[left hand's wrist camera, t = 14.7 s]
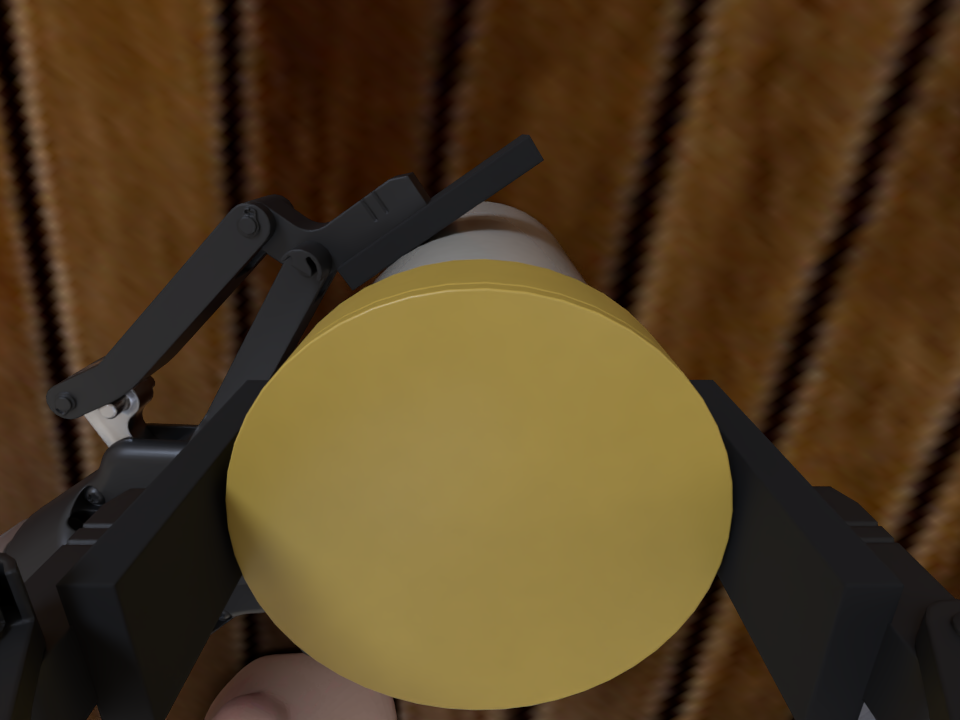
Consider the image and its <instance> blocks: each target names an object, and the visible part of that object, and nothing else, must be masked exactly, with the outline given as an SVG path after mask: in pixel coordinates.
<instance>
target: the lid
mask: <svg viewBox="0 0 960 720" xmlns="http://www.w3.org/2000/svg"><path fill="white" fill-rule="evenodd" d="M225 500H226V512H227V524H228V531H229V535H230V539H231V543H232V547H233V551H234V555H235V557H236V560H237V562H238V565H239V567H240V569H241V572H242V574H243V577H244V579H245V581H246V583H247V584H248V586H249V588H250V590H251V591H252V593H253V595H254V596H255V598H256V600H257V602H258V603H259V604H260V606H261V607H262V608H263V610H264V611H265V612H266V613H267V615H268V616H269V617H270V619H271V620H272V621H273V622H274V624H275V625H276V626H277V627H278V628H279V629H280V630H281V631H282V632H283V633H284V634H285V635H286V636H287V637H288V638H289V639H290V640H291V641H292V642H293V643H294V644H296V645H297V646H298V647H299V648H301V649H302V650H303V651H304V652H306V653H307V654H308V655H310V656H311V657H312V658H313V659H315V660H316V661H318V662H319V663H321V664H322V665H324V666H326V667H327V668H329V669H330V670H332V671H334V672H335V673H337V674H338V675H340V676H342V677H344V678H346V679H349V680H351V681H353V682H355V683H357V684H359V685H361V686H363V687H365V688H368V689H371V690H374V691H376V692H379V693H382V694H385V695H387V696H390V697H394V698H398V699H401V700H405V701H409V702H413V703H417V704H423V705H429V706H435V707H442V708H451V709H467V710H491V709H508V708H516V707H524V706H531V705H536V704H541V703H545V702H550V701H554V700H559V699H562V698H565V697H568V696H571V695H574V694H577V693H580V692H583V691H586V690H588V689H591V688H593V687H595V686H597V685H600V684H602V683H604V682H607V681H609V680H611V679H613V678H614V677H616V676H618V675H620V674H622V673H623V672H625V671H627V670H629V669H630V668H632V667H634V666H635V665H637V664H638V663H640V662H641V661H642V660H644V659H645V658H647V657H648V656H649V655H651V654H652V653H653V652H655V651H656V650H657V649H659V648H660V647H661V646H662V645H663V644H664V643H665V642H666V641H667V640H668V639H669V638H671V637H672V636H673V635H674V634H675V633H676V632H677V631H678V630H679V629H680V628H681V626H682V625H683V624H684V623H685V622H686V621H687V619H688V618H689V617H690V616H691V615H692V614H693V612H694V611H695V610H696V608H697V607H698V605H699V604H700V602H701V601H702V599H703V598H704V596H705V594H706V593H707V591H708V590H709V588H710V586H711V584H712V582H713V580H714V578H715V576H716V574H717V571H718V569H719V567H720V565H721V562H722V559H723V556H724V552H725V549H726V546H727V543H728V539H729V534H730V527H731V520H732V513H733V488H732V477H731V471H730V465H729V460H728V454H727V451H726V448H725V445H724V443H723V440H722V437H721V434H720V431H719V428H718V425H717V424H716V422H715V420H714V418H713V416H712V414H711V413H710V411H709V409H708V407H707V405H706V403H705V402H704V400H703V398H702V397H701V395H700V394H699V393H698V391H697V390H696V389H695V388H694V386H693V385H692V384H691V382H690V381H689V380H688V378H687V377H686V376H685V374H684V373H683V372H682V371H681V370H680V368H679V367H678V366H677V365H676V364H675V362H674V361H673V360H672V359H671V358H670V356H669V355H668V354H667V353H666V352H665V351H664V349H663V348H662V347H661V346H660V345H659V343H658V342H657V341H656V340H655V339H654V337H653V336H652V335H651V334H650V333H649V331H648V330H647V329H646V328H645V327H643V326H642V325H641V324H640V323H639V322H638V321H637V320H636V319H635V318H634V317H633V316H632V315H631V314H630V313H629V312H628V311H627V310H625V309H624V308H623V307H621V306H620V305H619V304H617V303H616V302H614V301H613V300H612V299H610V298H609V297H608V296H606V295H605V294H603V293H601V292H600V291H598V290H596V289H594V288H592V287H590V286H588V285H586V284H584V283H583V282H581V281H579V280H577V279H574V278H572V277H569V276H566V275H563V274H561V273H558V272H555V271H553V270H550V269H547V268H542V267H538V266H533V265H529V264H524V263H520V262H513V261H502V260H491V259H474V260H453V261H447V262H441V263H435V264H429V265H424V266H420V267H417V268H413V269H410V270H407V271H404V272H401V273H397V274H394V275H392V276H389V277H387V278H385V279H383V280H381V281H379V282H377V283H374V284H372V285H370V286H368V287H366V288H364V289H362V290H361V291H359V292H358V293H356V294H355V295H353V296H352V297H350V298H349V299H347V300H346V301H344V302H342V303H341V304H339V305H338V306H337V307H336V308H335V309H334V310H333V311H331V312H330V313H329V314H328V315H327V316H326V317H325V318H323V319H322V320H321V321H320V322H319V323H318V324H317V325H316V326H315V327H314V328H313V330H312V331H311V332H310V333H309V334H308V335H307V337H306V338H305V339H304V340H303V341H302V342H301V344H300V345H299V346H298V347H297V348H296V350H295V351H294V352H293V353H292V354H291V355H290V357H289V358H288V359H287V360H286V361H285V363H284V364H283V365H282V366H281V367H280V368H279V370H278V371H277V372H276V373H275V374H274V376H273V377H272V378H271V379H270V380H269V382H268V383H267V384H266V385H265V386H264V387H263V389H262V390H261V392H260V393H259V395H258V397H257V398H256V400H255V402H254V403H253V405H252V406H251V408H250V410H249V411H248V413H247V414H246V416H245V419H244V421H243V424H242V426H241V428H240V431H239V433H238V435H237V438H236V440H235V443H234V447H233V451H232V455H231V459H230V463H229V467H228V472H227V486H226V499H225Z"/></svg>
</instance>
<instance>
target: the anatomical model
mask: <svg viewBox="0 0 960 720" xmlns="http://www.w3.org/2000/svg"><path fill="white" fill-rule="evenodd" d="M205 720H397V714H396V709H395V704H394V700H393V697H390V696H387V695H385V694H382V693H379V692H376V691H374V690H371V689H368V688H365V687H363V686H361V685H359V684H357V683H355V682H353V681H351V680H349V679H346V678H344V677H342V676H340V675H338V674H337V673H335V672H334V671H332V670H330V669H329V668H327V667H326V666H324V665H322V664H321V663H319V662H318V661H316V660H315V659H313V658H312V657H310V656H308V655H306V654H304V653H290V654H274V655H268V656H264V657H260V658H258V659H256V660H254V661H252V662H251V663H249V664H248V665H247V666H245V667H244V668H243V669H242V670H241V671H239V672H238V673H237V674H236V675H235V676H234V677H233V678H232V679H231V680H230V682H229V683H228V684H227V685H226V686H225V687H224V688H223V689H222V691H221V692H220V693H219V694H218V696H217V697H216V698H215V700H214V701H213V703H212V704H211V706H210V708H209V710H208V712H207V714H206V716H205Z"/></svg>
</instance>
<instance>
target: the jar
mask: <svg viewBox="0 0 960 720" xmlns="http://www.w3.org/2000/svg"><path fill="white" fill-rule="evenodd" d="M474 259H491V260H502V261H513V262H520V263H524V264H529V265H533V266H538V267H542V268H547V269H550V270H553V271H555V272H558V273H561V274H563V275H566V276H569V277H572V278H574V279H577V280H579V281H581V282H583V283H584V284H586V285H587V283H586V282H585V281H584V279H583V278H582V276H581V275H580V273H579V272H578V271H577V269H576V268H575V266H574V265H573V263H572V262H571V261H570V259H569V258H568V256H567V255H566V253H565V252H564V250H563V249H562V248H561V246H560V245H559V243H558V242H557V240H556V239H555V238H554V236H553V235H552V234H551V233H550V232H549V231H548V230H547V229H546V228H545V227H544V226H543V225H542V224H541V223H539V222H538V221H537V220H536V219H534V218H533V217H531V216H529V215H528V214H526V213H525V212H522V211H520V210H518V209H516V208H513V207H510V206H507V205H503V204H499V203H492V202H482V203H480V204H479V205H477V206H476V207H474V208H473V209H471V210H470V211H469V212H467V213H466V214H464V215H463V216H461V217H460V218H458V219H457V220H455V221H454V222H452V223H451V224H449V225H448V226H447V227H445V228H444V229H442V230H441V231H439V232H438V233H436V234H435V235H433V236H432V237H430V238H429V239H427V240H426V241H425V242H423V243H422V244H420V245H419V246H417V247H416V248H414V249H413V250H411V251H410V252H408V253H407V254H405V255H404V256H402V257H401V258H399V259H398V260H397V261H395V262H394V263H392V264H391V265H389V266H388V267H386V268H385V269H383V270H382V271H381V272H380V274H379V275H378V277H377V278H376V279H375V281H374V282H373V284H374V283H377V282H379V281H381V280H383V279H385V278H387V277H389V276H392V275H394V274H397V273H401V272H404V271H407V270H410V269H413V268H417V267H420V266H424V265H429V264H435V263H441V262H447V261H453V260H474Z"/></svg>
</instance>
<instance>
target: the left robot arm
mask: <svg viewBox="0 0 960 720" xmlns="http://www.w3.org/2000/svg"><path fill="white" fill-rule="evenodd" d="M689 381H690V382H691V384H692V385H693V386H694V388H695V389H696V390H697V391H698V393H699V394H700V395H701V397H702V398H703V400H704V402H705V403H706V405H707V407H708V409H709V411H710V413H711V414H712V416H713V418H714V420H715V422H716V424H717V425H718V428H719V431H720V434H721V437H722V440H723V443H724V445H725V448H726V451H727V454H728V460H729V465H730V471H731V477H732V488H733V513H732V520H731V527H730V534H729V539H728V543H727V546H726V549H725V552H724V556H723V559H722V562H721V565H720V567H719V569H718V571H717V575H718V576H719V578H720V580H721V582H722V584H723V586H724V588H725V590H726V591H727V593H728V595H729V597H730V599H731V601H732V603H733V604H734V606H735V608H736V610H737V612H738V614H739V616H740V618H741V619H742V621H743V623H744V625H745V627H746V629H747V631H748V632H749V634H750V636H751V638H752V640H753V642H754V644H755V646H756V647H757V649H758V651H759V653H760V655H761V657H762V659H763V661H764V662H765V664H766V666H767V668H768V670H769V672H770V674H771V675H772V677H773V679H774V681H775V683H776V685H777V687H778V689H779V690H780V692H781V694H782V696H783V698H784V700H785V702H786V703H787V705H788V707H789V709H790V711H791V713H792V715H793V717H794V718H793V720H960V600H958V599H955V598H954V597H953V596H952V595H951V594H950V593H949V592H948V591H947V590H946V589H945V588H944V587H943V586H942V585H941V584H940V583H939V582H938V581H937V580H936V579H935V578H933V577H932V576H931V575H930V574H929V573H928V572H927V571H926V570H925V569H924V568H923V567H922V566H921V565H920V564H919V563H918V562H917V561H916V560H915V559H914V558H913V557H912V556H911V555H910V554H909V553H908V552H907V551H906V550H905V549H904V548H903V547H902V546H901V545H900V544H899V543H895V542H894V538H893V537H892V536H891V535H890V534H889V533H888V532H887V531H886V530H885V529H884V528H883V527H882V526H878V524H877V523H878V522H877V521H876V520H875V519H874V518H873V517H872V516H871V515H870V514H869V513H868V512H867V511H865V510H864V509H863V508H862V507H861V506H860V505H859V504H858V503H857V502H855V501H854V500H852V499H850V498H849V497H847V496H845V495H844V494H842V493H840V492H839V491H837V490H835V489H833V488H832V487H812V486H811V485H810V484H809V482H808V481H807V480H806V479H805V478H804V477H803V476H802V475H801V474H800V473H799V472H798V471H797V470H796V469H795V467H794V466H793V465H792V464H791V463H790V462H789V461H788V460H787V459H786V458H785V457H784V456H783V455H782V454H781V452H780V451H779V450H778V449H777V448H776V447H775V446H774V445H773V444H772V443H771V442H770V441H769V440H768V439H767V438H766V436H765V435H764V434H763V433H762V432H761V431H760V430H759V429H758V428H757V427H756V426H755V425H754V424H753V423H752V421H751V420H750V419H749V418H748V417H747V416H746V415H745V414H744V413H743V412H742V411H741V410H740V409H739V408H738V406H737V405H736V404H735V403H734V402H733V401H732V400H731V399H730V398H729V397H728V396H727V395H726V394H725V393H724V391H723V390H722V389H721V388H720V387H719V386H718V385H717V384H716V383H715V382H714V381H713V380H689ZM268 382H269V380H247V381H246V382H245V383H244V384H243V385H242V386H241V387H240V388H239V389H238V390H237V391H236V393H235V394H234V395H233V396H232V397H231V398H230V399H229V400H228V401H227V402H226V403H225V404H224V405H223V406H222V408H221V409H220V410H219V411H218V412H217V413H216V414H215V415H214V416H213V417H212V418H211V419H210V420H209V421H208V423H207V424H206V425H205V426H204V427H203V428H202V429H201V430H200V431H199V432H198V433H197V434H196V435H195V436H194V438H193V439H192V440H191V441H190V442H189V443H188V444H187V445H186V446H185V447H184V448H183V449H182V450H181V451H180V453H179V454H178V455H177V456H176V457H175V458H174V459H173V460H172V461H171V462H170V463H169V464H168V465H167V466H166V468H165V469H164V470H163V471H162V472H161V473H160V474H159V475H158V476H157V477H156V478H155V479H154V480H153V481H152V482H151V484H150V485H149V486H148V487H147V488H130V489H129V490H127V491H125V492H123V493H122V494H120V495H118V496H117V497H115V498H113V499H112V500H110V501H108V502H107V503H105V504H103V505H102V506H101V507H100V508H99V509H98V510H97V511H96V512H95V513H94V514H93V515H92V516H91V517H90V518H89V519H88V520H87V521H86V522H85V523H84V524H83V528H79V529H78V530H77V531H76V532H75V533H74V534H73V535H72V536H71V537H70V538H69V539H68V540H67V544H66V545H62V546H61V547H60V548H59V549H58V550H57V551H56V552H55V553H54V554H53V555H52V556H51V557H50V558H49V559H48V560H47V561H46V562H45V563H44V564H43V565H42V566H41V567H40V568H39V569H38V570H37V571H36V572H35V573H34V574H33V575H32V576H31V577H30V578H29V579H28V580H26V581H25V582H24V581H23V579H22V576H21V573H20V570H19V568H18V565H17V562H16V560H15V559H14V558H13V557H11V556H9V555H8V554H6V553H0V720H86V719H87V718H88V716H89V715H90V713H91V712H92V710H93V709H94V707H95V706H96V704H97V707H98V710H99V713H100V716H101V718H102V720H165V718H166V717H167V715H168V713H169V711H170V709H171V707H172V705H173V704H174V702H175V700H176V698H177V696H178V694H179V692H180V690H181V689H182V687H183V685H184V683H185V681H186V679H187V677H188V675H189V674H190V672H191V670H192V668H193V666H194V664H195V662H196V661H197V659H198V657H199V655H200V653H201V651H202V649H203V647H204V646H205V644H206V642H207V640H208V638H209V636H210V634H211V633H212V631H213V629H214V627H215V625H216V623H217V621H218V619H219V618H220V616H221V614H222V612H223V610H224V608H225V606H226V604H227V603H228V601H229V599H230V597H231V595H232V593H233V591H234V590H235V588H236V586H237V584H238V582H239V580H240V578H241V576H242V575H243V574H242V572H241V569H240V567H239V565H238V562H237V560H236V557H235V555H234V551H233V547H232V543H231V539H230V535H229V531H228V524H227V512H226V500H225V499H226V486H227V472H228V467H229V463H230V459H231V455H232V451H233V447H234V443H235V440H236V438H237V435H238V433H239V431H240V428H241V426H242V424H243V421H244V419H245V416H246V414H247V413H248V411H249V410H250V408H251V406H252V405H253V403H254V402H255V400H256V398H257V397H258V395H259V393H260V392H261V390H262V389H263V387H264V386H265V385H266V384H267V383H268Z"/></svg>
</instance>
